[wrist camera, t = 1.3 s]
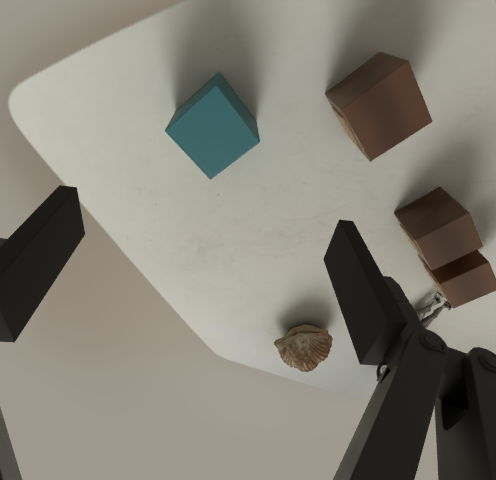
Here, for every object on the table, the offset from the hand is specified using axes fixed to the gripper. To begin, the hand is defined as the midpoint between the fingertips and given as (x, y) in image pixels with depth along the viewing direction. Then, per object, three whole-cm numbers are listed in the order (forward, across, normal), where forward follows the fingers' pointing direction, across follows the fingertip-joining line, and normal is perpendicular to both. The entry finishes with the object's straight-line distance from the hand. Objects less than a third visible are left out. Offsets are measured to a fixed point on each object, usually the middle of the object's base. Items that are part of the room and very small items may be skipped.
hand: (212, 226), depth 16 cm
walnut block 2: (+20, +27, -8) cm, 35 cm away
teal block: (+20, -1, 0) cm, 20 cm away
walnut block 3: (+20, +34, -15) cm, 42 cm away
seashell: (+21, +17, -34) cm, 43 cm away
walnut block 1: (+20, +14, +4) cm, 25 cm away
